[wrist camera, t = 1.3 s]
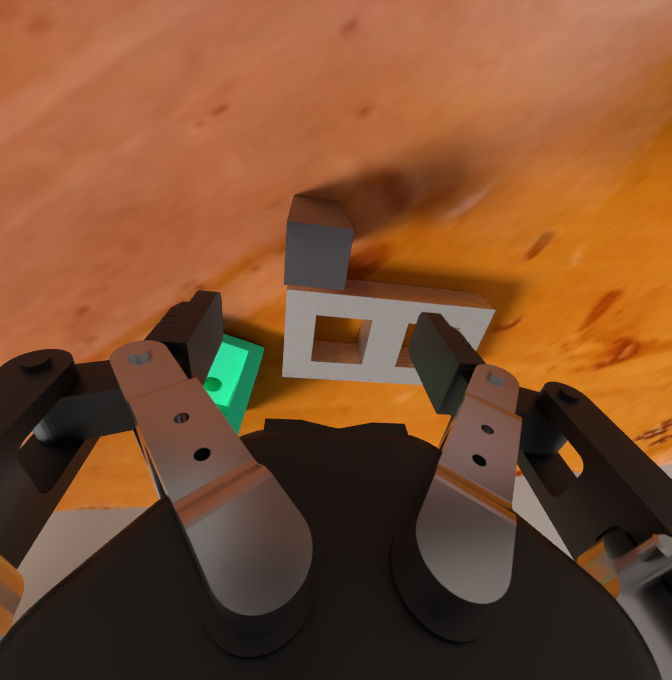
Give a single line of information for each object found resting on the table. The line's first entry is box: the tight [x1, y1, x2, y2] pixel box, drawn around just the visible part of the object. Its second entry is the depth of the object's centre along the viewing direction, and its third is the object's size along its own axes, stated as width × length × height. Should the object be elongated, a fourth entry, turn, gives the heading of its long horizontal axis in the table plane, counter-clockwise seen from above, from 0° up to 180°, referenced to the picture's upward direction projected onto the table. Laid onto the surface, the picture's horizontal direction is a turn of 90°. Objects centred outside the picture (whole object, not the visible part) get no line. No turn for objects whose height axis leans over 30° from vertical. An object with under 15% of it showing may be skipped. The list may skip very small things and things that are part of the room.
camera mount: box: [203, 334, 265, 435], centre depth 31 cm, size 12×8×10 cm, turn 154°
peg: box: [284, 195, 354, 291], centre depth 23 cm, size 4×4×10 cm
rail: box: [282, 279, 496, 385], centre depth 32 cm, size 10×20×4 cm, turn 82°
